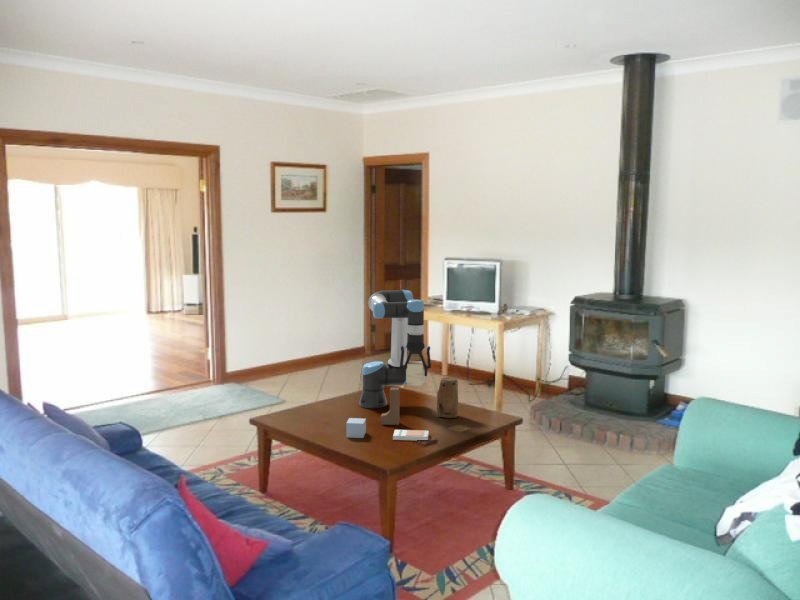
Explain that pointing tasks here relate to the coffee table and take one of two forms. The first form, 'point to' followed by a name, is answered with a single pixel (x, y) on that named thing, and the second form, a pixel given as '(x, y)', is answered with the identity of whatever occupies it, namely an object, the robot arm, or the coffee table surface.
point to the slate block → (356, 428)
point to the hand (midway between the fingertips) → (415, 382)
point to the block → (447, 398)
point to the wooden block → (392, 409)
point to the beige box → (415, 373)
